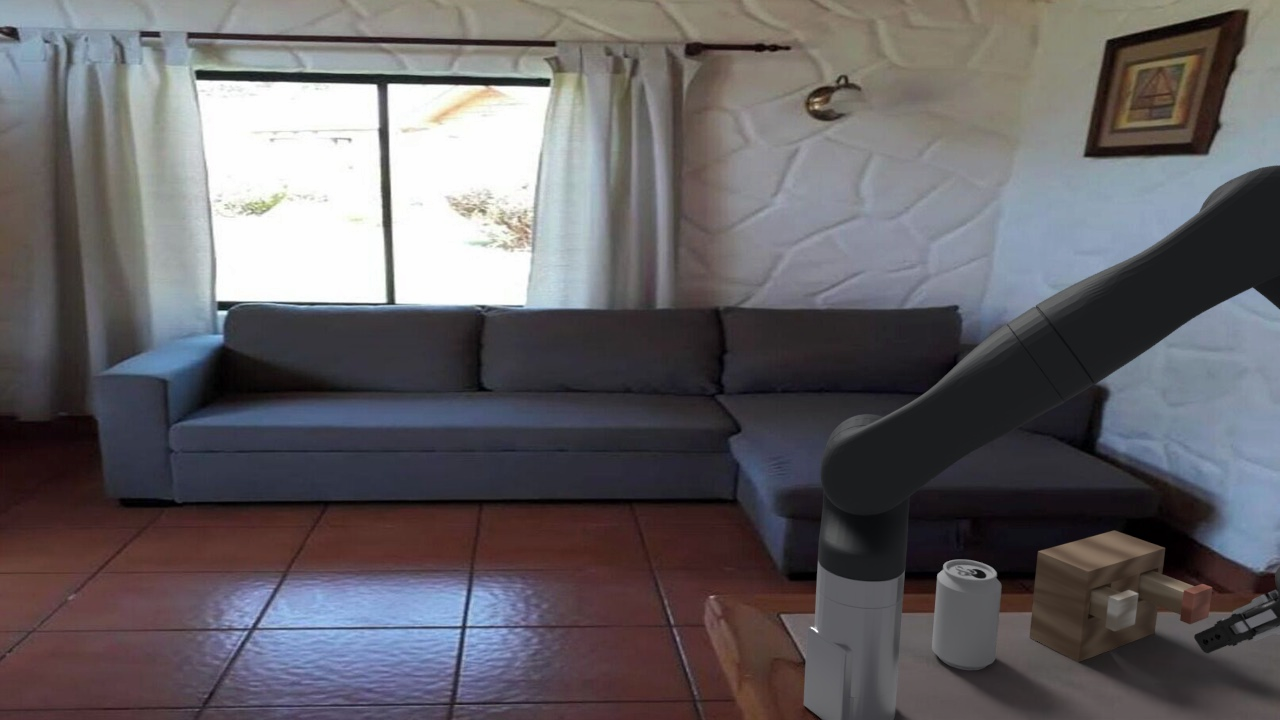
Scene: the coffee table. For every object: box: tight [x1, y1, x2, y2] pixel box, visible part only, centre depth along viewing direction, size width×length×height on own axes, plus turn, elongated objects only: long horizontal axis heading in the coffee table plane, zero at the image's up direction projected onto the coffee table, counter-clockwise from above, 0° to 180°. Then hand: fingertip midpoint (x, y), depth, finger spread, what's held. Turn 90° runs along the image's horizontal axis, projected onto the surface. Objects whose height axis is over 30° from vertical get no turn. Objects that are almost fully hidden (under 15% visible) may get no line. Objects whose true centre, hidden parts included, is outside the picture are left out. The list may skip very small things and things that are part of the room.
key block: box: [1029, 530, 1166, 663], centre depth 113 cm, size 16×7×12 cm, turn 119°
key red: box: [1138, 570, 1213, 625], centre depth 111 cm, size 4×9×4 cm, turn 29°
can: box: [931, 559, 1002, 671], centre depth 107 cm, size 8×8×12 cm
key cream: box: [1089, 585, 1138, 631], centre depth 109 cm, size 4×9×4 cm, turn 29°
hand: (1202, 643), depth 97 cm, fingers closed
